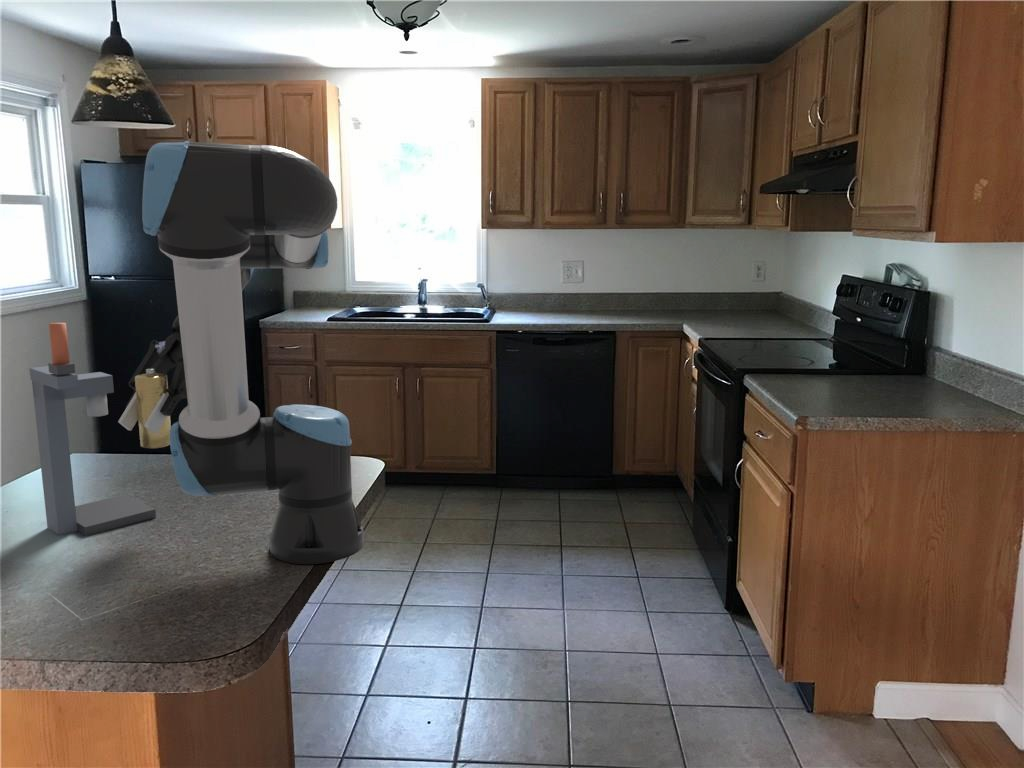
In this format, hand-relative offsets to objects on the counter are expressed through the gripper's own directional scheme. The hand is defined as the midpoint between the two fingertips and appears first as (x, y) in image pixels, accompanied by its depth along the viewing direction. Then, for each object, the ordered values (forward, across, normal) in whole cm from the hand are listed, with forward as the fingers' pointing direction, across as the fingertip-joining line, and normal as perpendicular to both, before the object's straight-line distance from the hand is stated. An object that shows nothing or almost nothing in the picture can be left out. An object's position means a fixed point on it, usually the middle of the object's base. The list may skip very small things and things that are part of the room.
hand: (137, 428), depth 134 cm
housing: (0, 0, -5) cm, 5 cm away
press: (+13, +10, -13) cm, 21 cm away
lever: (-2, +7, +12) cm, 14 cm away
